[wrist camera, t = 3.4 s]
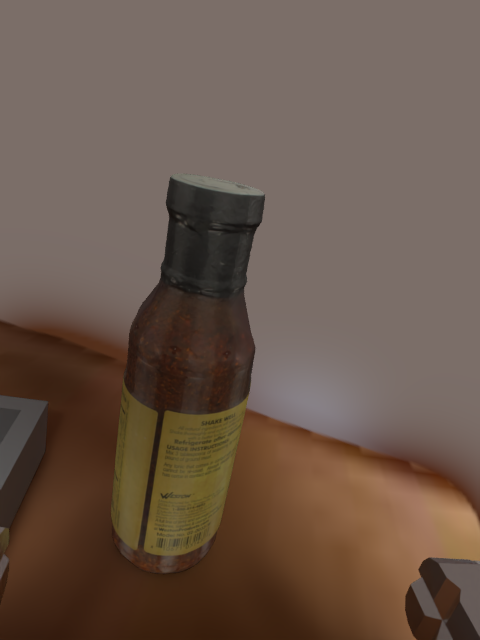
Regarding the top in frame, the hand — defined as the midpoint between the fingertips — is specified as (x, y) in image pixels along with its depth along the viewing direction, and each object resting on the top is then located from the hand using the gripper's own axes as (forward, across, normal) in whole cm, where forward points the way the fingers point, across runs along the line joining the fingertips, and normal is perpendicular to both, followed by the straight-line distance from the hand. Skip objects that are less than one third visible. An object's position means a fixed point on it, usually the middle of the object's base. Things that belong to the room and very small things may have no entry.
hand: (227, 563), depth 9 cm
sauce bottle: (+13, 0, +14) cm, 19 cm away
